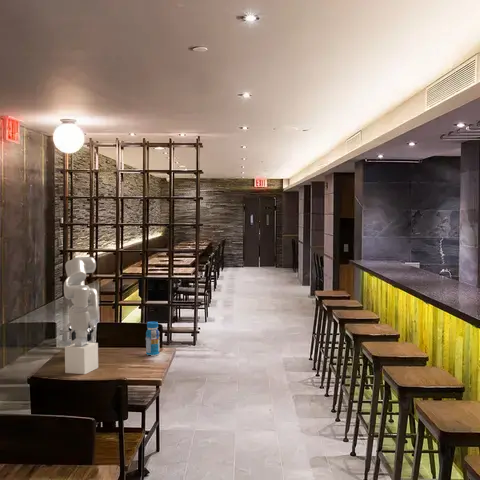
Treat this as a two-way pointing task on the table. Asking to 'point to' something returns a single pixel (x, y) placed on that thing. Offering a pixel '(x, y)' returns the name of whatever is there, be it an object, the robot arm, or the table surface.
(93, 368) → the white box with slot
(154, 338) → the beverage bottle
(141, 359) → the table surface
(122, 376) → the table surface
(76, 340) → the white rectangular block
